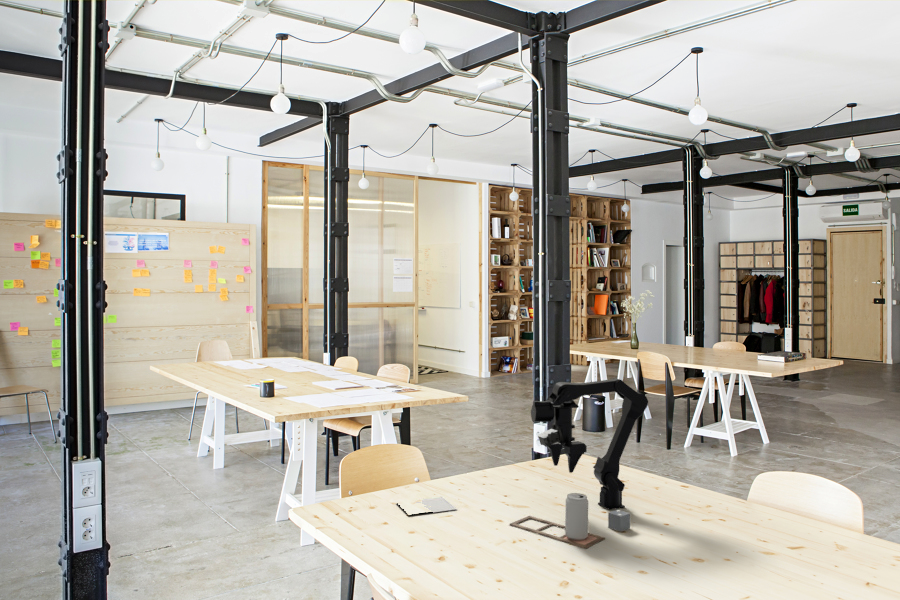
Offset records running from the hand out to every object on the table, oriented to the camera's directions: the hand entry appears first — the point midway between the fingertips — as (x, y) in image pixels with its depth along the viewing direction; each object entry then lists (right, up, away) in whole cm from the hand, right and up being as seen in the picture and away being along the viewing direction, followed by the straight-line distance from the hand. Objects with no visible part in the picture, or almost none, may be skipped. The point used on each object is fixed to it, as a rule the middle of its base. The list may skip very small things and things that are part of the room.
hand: (563, 469), depth 212 cm
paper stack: (-47, -14, -4) cm, 49 cm away
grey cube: (+14, -13, -18) cm, 26 cm away
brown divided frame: (-6, -13, -21) cm, 25 cm away
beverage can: (-1, -13, -26) cm, 29 cm away
